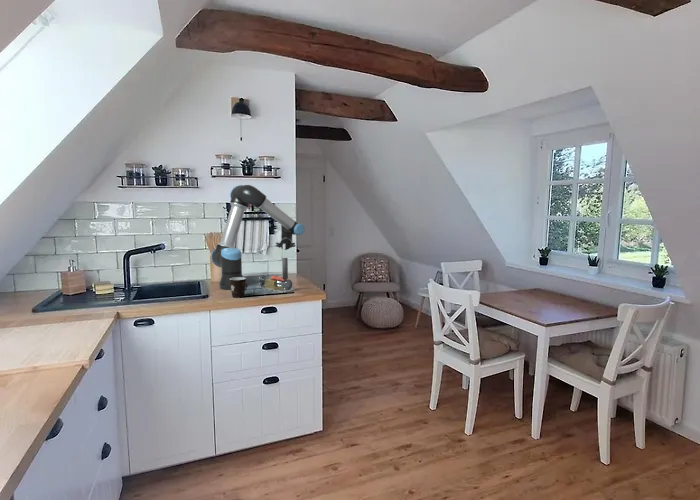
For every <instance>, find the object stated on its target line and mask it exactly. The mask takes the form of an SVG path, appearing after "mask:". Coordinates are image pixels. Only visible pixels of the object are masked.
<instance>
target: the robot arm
mask: <svg viewBox="0 0 700 500" xmlns="http://www.w3.org/2000/svg"><path fill="white" fill-rule="evenodd" d="M229 195H230V196H229V197H230V201H229V204H230V206H231V207H230V211H229V213H228V217H227V219H226V222H225V227H224V230H223V233H222V236H221V239H220V242H218V243H216V246H215V249H214V250H212V252H211V254H210V260H211V262H212V263H213V265H215V266H216V267H219V268H221V276H220V277H221V278H220V281H219V289H220V290H231V285H230V278H235V277H244V275H243V271H242V270H243V267H242V251H241V249H240V248H235V244H236V240H237V237H238V233H239V231H240V226H241V224H242V220H243V218H244V214H245V211H246V210H248V209H249V206H250V205H252V206H253V207H255V208H256V209H260V210H261V211H263V212H264V213H265V214H267V215H268V216H269V217H270V218H271V219H273V220H274V221H275V222H278V224H280V227H281V228H280V229H281V231H280V232H281V233H280V234H281V235H280V238H281V239H280V242H275V247H277V248H279V249H281V250H285V251H287V250H289V249H292V248H295V247H296V242H293V235H296V236H301V235H303V234H304V233H305V226H304V224H302V223H298V222H297V221H295V220H294V219H293V218H292V217H291V216H289V215H288V214H287V213H286V212H284V211H283V210H282V209H280V208H279V207H278V206H276V205H275V204H274V203H273V202H272V201H270V200H269V199H268V198H267V196H266V194H264V193H263V192H262V191H260V189H258V188H256V186H253V185H250V184H245V185H243V184H240V185H239V184H238V185H236V186H235V187H233V188H232V189H231V191H230V194H229Z"/></svg>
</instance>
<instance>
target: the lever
mask: <svg viewBox="0 0 700 500" xmlns="http://www.w3.org/2000/svg"><path fill="white" fill-rule="evenodd" d="M281 259H282V260H281V262H282V264H281V265H282V269H281V271H282V277H281V276H279V275H270V278H271V279H277V280H282V281H286V280H289V272H288V271H289V268H288V265H289V263H288V262H289V261H288V257H282V258H281Z"/></svg>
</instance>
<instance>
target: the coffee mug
mask: <svg viewBox="0 0 700 500" xmlns="http://www.w3.org/2000/svg"><path fill="white" fill-rule="evenodd" d="M246 280H247V278H246V277H244V276H243V277H235V278H230V285H231V289H230V290H231V297H232V298H234V299H241V298H244V297H245V296H246V295H245V294H246V290H247V288H248V283H247V281H246Z"/></svg>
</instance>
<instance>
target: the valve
mask: <svg viewBox="0 0 700 500" xmlns="http://www.w3.org/2000/svg"><path fill="white" fill-rule="evenodd" d="M257 283H258V285H255V286H254V287H256V289H260V288H262V289H261V290H265V289H268V290H267V291H271V290H273V291H272V292H276V291H277V292H276V293H281V294H282V293H283V292H284V293H286V292H287V291H288V292H292V291H294V290H296V288H293V281H292V280H291V279H287V280H286V281H282V280H277V279H271V277H266V275H259V276H258V278H257Z"/></svg>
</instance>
